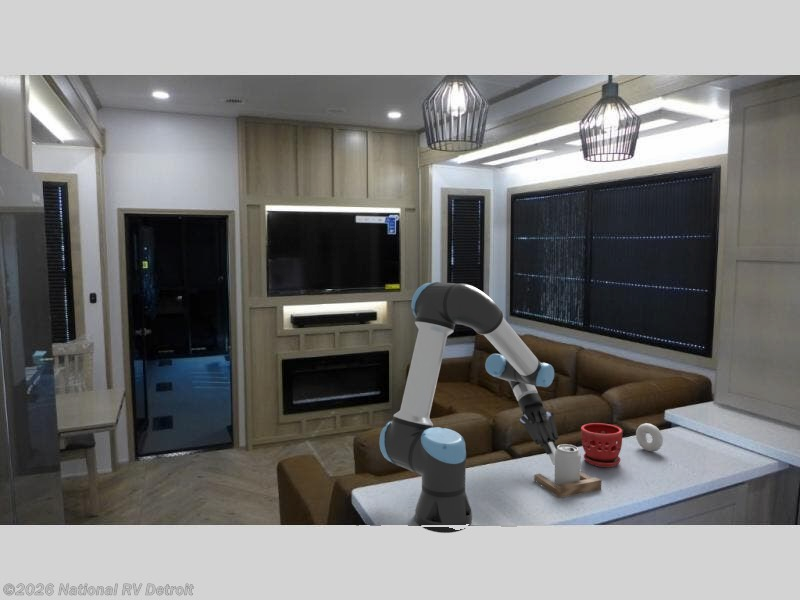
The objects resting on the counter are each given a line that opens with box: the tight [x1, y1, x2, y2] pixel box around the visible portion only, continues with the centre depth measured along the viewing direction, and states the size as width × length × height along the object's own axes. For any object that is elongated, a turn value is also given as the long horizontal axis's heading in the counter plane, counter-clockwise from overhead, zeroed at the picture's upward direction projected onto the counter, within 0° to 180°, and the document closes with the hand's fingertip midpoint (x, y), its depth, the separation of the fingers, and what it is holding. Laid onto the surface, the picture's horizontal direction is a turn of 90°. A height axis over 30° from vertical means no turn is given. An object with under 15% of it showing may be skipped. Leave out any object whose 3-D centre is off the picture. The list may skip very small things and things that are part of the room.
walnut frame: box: [533, 470, 602, 499], centre depth 162 cm, size 15×12×3 cm
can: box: [553, 443, 581, 485], centre depth 161 cm, size 8×8×12 cm
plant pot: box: [580, 422, 623, 468], centre depth 179 cm, size 13×13×12 cm
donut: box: [635, 422, 664, 453], centre depth 188 cm, size 10×3×10 cm, turn 30°
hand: (557, 463), depth 166 cm, fingers closed
